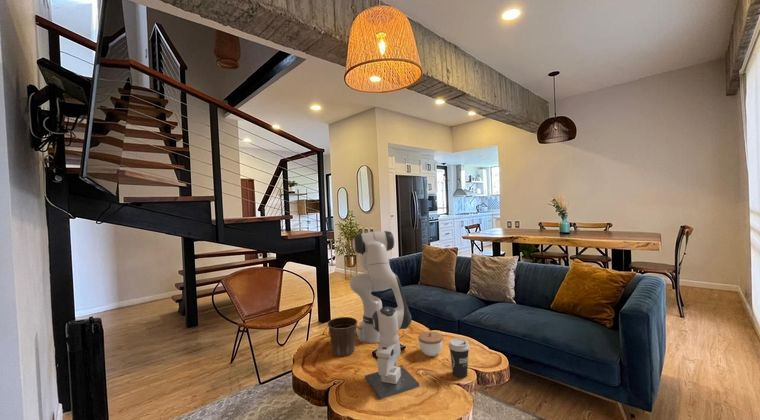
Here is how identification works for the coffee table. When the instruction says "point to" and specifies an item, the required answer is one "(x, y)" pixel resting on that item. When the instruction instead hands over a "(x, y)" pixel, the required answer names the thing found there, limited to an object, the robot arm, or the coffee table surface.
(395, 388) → the base plate
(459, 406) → the coffee table surface
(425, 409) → the coffee table surface
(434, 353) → the lidded bowl
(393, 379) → the collar
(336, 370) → the coffee table surface
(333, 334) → the plant pot
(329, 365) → the coffee table surface
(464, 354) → the coffee cup
